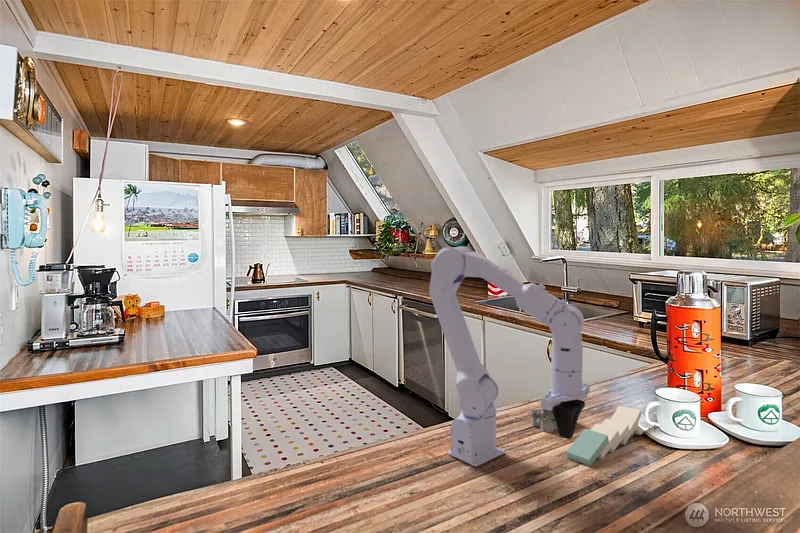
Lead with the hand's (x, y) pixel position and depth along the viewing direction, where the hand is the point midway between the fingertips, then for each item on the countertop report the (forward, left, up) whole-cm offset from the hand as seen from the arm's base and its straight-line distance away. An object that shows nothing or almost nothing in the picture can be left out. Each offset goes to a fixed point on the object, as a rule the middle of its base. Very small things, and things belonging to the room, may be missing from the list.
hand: (565, 436), depth 95 cm
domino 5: (+19, 0, -6) cm, 20 cm away
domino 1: (+4, 0, -6) cm, 7 cm away
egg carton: (+18, +14, -7) cm, 24 cm away
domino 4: (+24, +1, -6) cm, 25 cm away
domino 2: (+9, 0, -6) cm, 10 cm away
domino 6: (+27, 0, -6) cm, 28 cm away
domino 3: (+14, 0, -6) cm, 15 cm away
